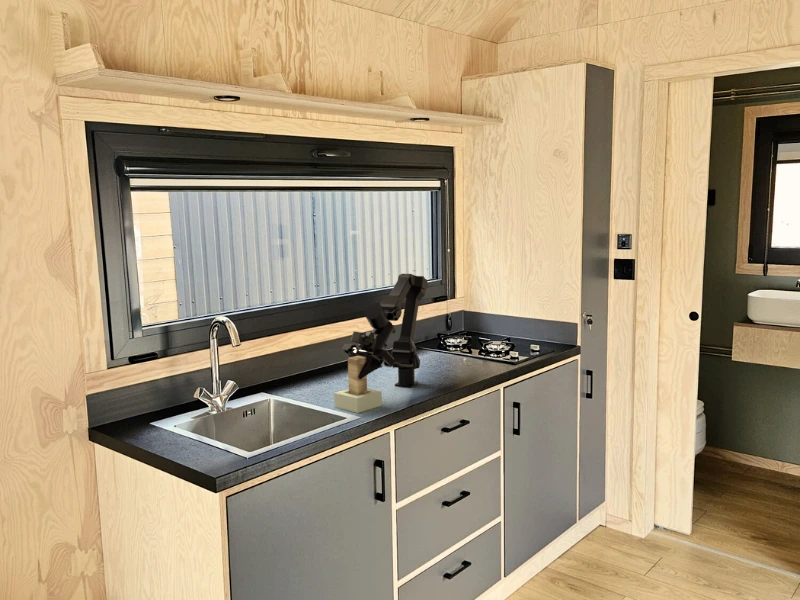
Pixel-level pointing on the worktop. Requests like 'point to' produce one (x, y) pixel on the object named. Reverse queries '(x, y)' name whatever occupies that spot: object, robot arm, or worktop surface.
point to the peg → (356, 376)
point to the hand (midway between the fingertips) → (354, 377)
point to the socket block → (358, 400)
